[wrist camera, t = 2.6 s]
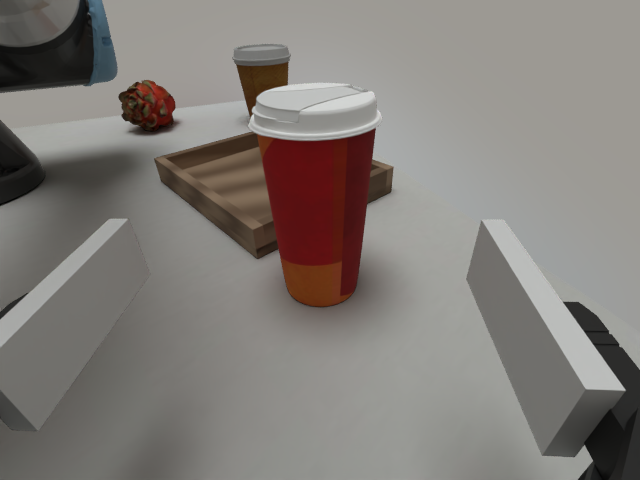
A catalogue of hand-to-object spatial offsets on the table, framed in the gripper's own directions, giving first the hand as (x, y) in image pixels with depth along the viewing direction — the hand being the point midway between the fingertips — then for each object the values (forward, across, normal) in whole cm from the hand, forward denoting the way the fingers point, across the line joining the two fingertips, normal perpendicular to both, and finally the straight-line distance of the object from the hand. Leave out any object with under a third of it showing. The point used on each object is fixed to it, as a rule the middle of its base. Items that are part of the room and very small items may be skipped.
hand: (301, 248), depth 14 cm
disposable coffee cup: (+53, -12, -10) cm, 56 cm away
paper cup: (+10, 0, -11) cm, 15 cm away
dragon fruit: (+51, -33, -10) cm, 62 cm away
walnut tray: (+27, -7, -10) cm, 30 cm away
